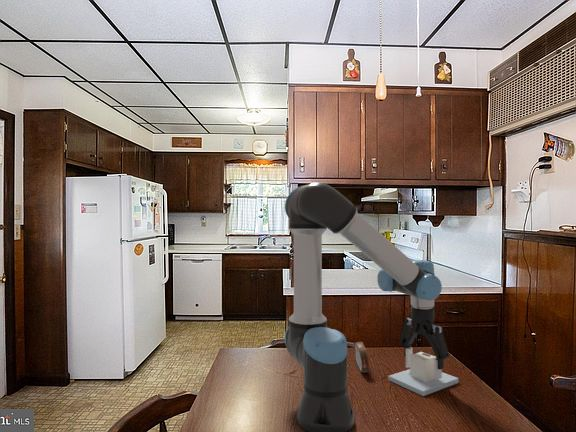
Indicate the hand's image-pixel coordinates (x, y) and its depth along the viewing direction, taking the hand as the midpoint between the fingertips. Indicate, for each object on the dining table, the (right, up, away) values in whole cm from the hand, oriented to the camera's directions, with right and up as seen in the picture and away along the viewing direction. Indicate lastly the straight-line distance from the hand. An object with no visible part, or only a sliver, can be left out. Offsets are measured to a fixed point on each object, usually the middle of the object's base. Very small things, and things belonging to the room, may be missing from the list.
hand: (423, 372), depth 126 cm
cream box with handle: (0, -1, 0) cm, 1 cm away
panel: (0, -3, 0) cm, 3 cm away
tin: (-18, -4, +12) cm, 22 cm away
